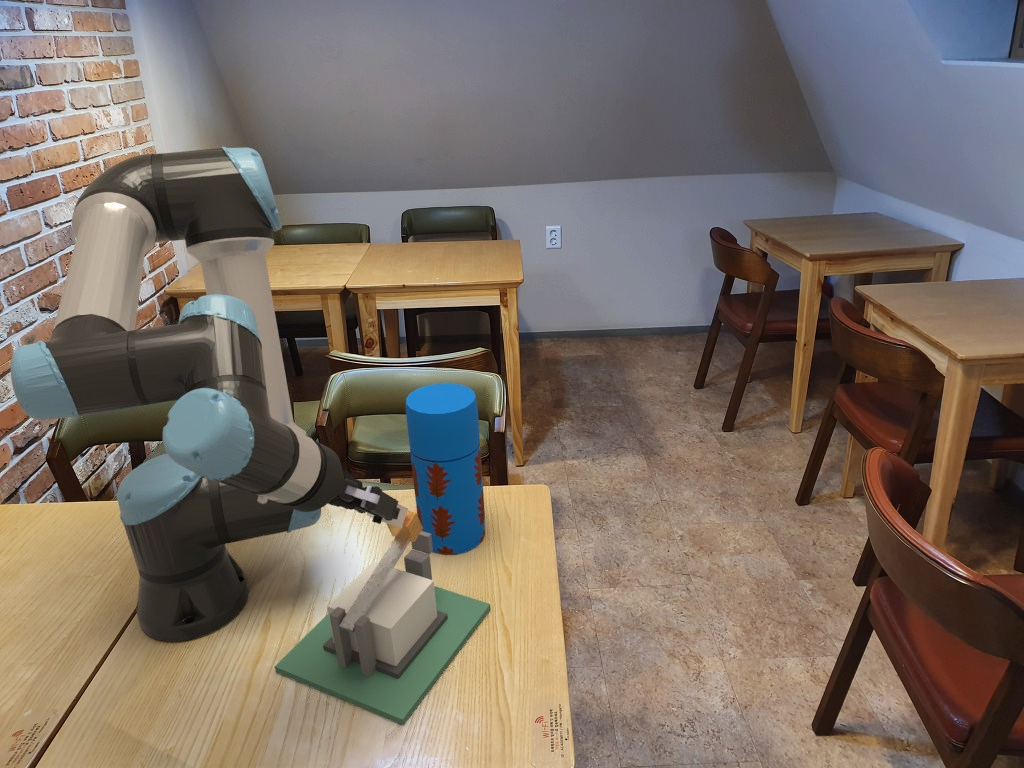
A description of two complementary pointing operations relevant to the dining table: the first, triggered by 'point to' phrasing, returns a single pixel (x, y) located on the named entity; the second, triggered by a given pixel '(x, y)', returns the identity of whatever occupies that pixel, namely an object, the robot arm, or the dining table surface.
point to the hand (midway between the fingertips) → (400, 517)
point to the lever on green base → (387, 640)
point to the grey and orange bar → (383, 568)
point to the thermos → (447, 465)
